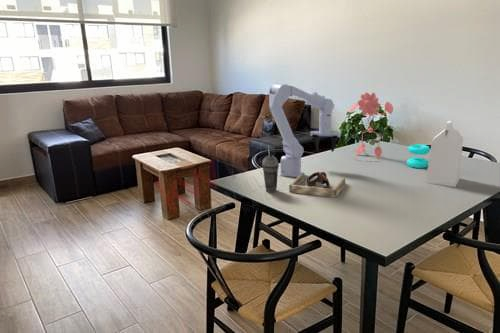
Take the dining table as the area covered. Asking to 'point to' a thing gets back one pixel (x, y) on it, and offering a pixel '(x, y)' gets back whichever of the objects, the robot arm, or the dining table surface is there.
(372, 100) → the pink flower ornament
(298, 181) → the wooden tray
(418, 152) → the donuts
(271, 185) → the beverage cup
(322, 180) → the brown piece
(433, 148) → the milk
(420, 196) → the dining table surface
